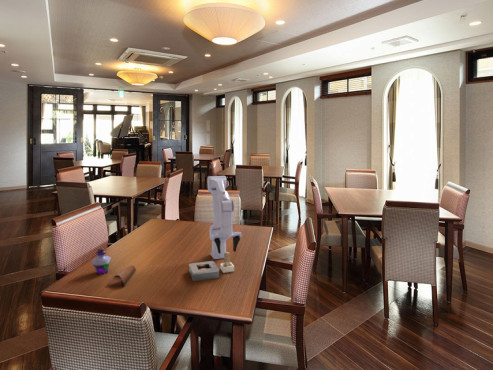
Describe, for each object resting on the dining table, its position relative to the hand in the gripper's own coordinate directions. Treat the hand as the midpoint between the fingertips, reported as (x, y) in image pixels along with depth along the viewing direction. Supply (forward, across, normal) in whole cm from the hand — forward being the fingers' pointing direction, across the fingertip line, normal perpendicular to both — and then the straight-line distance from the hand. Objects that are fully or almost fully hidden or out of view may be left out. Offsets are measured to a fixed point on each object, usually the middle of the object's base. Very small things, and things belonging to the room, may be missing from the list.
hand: (226, 252), depth 164 cm
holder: (+9, 0, 0) cm, 9 cm away
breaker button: (+8, -12, -2) cm, 15 cm away
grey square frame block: (+9, -12, -2) cm, 15 cm away
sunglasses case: (+10, -49, +5) cm, 50 cm away
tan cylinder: (+8, 0, 0) cm, 8 cm away
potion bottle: (+9, -58, +17) cm, 61 cm away
